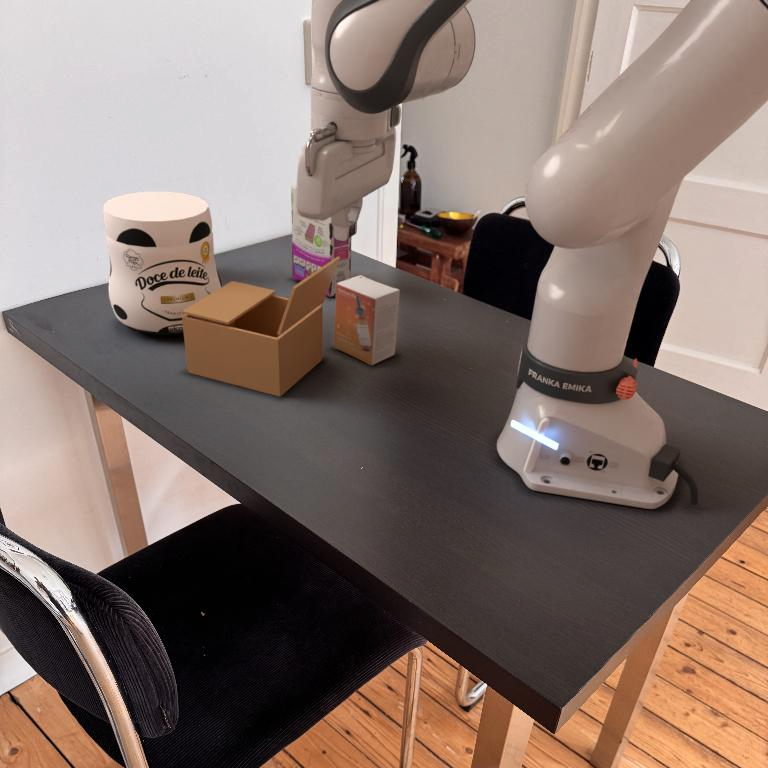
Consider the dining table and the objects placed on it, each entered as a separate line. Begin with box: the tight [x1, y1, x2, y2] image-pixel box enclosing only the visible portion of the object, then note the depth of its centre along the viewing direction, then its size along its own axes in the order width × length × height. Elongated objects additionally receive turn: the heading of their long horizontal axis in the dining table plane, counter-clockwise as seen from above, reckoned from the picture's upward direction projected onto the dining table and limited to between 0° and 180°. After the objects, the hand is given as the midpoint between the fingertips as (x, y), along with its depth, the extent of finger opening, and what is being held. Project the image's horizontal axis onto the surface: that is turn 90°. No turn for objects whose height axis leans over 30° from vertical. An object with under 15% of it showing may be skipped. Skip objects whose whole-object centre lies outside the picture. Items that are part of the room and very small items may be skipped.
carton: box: [182, 280, 323, 398], centre depth 112 cm, size 15×13×9 cm
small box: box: [333, 274, 401, 366], centre depth 118 cm, size 8×6×10 cm
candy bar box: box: [290, 185, 353, 298], centre depth 137 cm, size 11×5×16 cm, turn 43°
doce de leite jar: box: [102, 190, 223, 336], centre depth 121 cm, size 17×17×18 cm
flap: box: [278, 257, 340, 335], centre depth 105 cm, size 7×13×1 cm
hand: (345, 237), depth 99 cm, fingers closed
